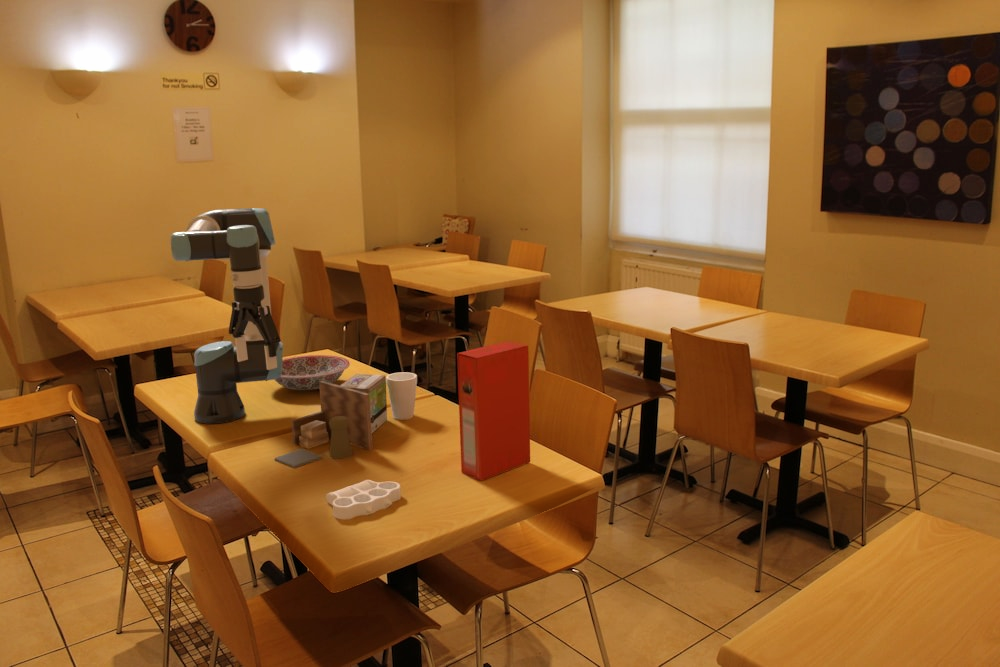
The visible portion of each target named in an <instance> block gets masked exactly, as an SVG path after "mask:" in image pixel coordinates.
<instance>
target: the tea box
mask: <svg viewBox="0 0 1000 667" xmlns="http://www.w3.org/2000/svg"><path fill="white" fill-rule="evenodd" d="M386 377H387V375H384V374H367V373H364V374H363V373H355V374H354V375H352V376H351V377H350V378H349V379H347V380H346V381H345V382H342V383H341V384H340V385H339V386H343V387H346V388H350V389H353V390H357V391H360V392H364V393H367V394H369V397H370V415H371V432H372V434H373V433H375V431H377V429H379V428H380V427H381V426H382V425H383V424H384V423H386V421H387V420H388V408H387V404H388V403H387V384H386Z"/></svg>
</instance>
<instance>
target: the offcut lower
mask: <svg viewBox="0 0 1000 667" xmlns="http://www.w3.org/2000/svg"><path fill="white" fill-rule="evenodd" d="M299 440H300V443H299V446H300V447H304V448H306V449H311V448H313V447H318V446H320V445H323V444H325V443H326V444H327V443H328V442H330V440H329V436H328V432H326V433H323V434H321V435H319V436H317V437H314V438H312V439H311V438H307V437H303V436H299Z"/></svg>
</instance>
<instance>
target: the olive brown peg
mask: <svg viewBox="0 0 1000 667" xmlns="http://www.w3.org/2000/svg"><path fill="white" fill-rule="evenodd" d="M348 425H349V421H348V419H347V418H346V417H344V416H335V417H333V418H331V419H330V421H329V426H330V428H331V429H332V433H331V437H330V448H329V449H330V450H329V457H330V458H331V459H333V460H346V459H349V458H351V457H352V456H353V452H352V447H351V444H350V441H349V436H348V431H347V427H348Z"/></svg>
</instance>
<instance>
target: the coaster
mask: <svg viewBox="0 0 1000 667" xmlns="http://www.w3.org/2000/svg"><path fill="white" fill-rule="evenodd" d="M320 459H323V456H322V455H320V454H317V453H315V452H313V451H310V450H307V449H305V448H300V449H297V450H294V451H291V452H288V453H285V454H281V455H279V456H276V457H274V460H275V461H276V462H278V463H281V464H284V465H286V466H289V467H291V468H294V469H295V468H298V467H301V466H303V465H306V464H310V463H311V462H312V463H313V462H314V461H319V460H320Z"/></svg>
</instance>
